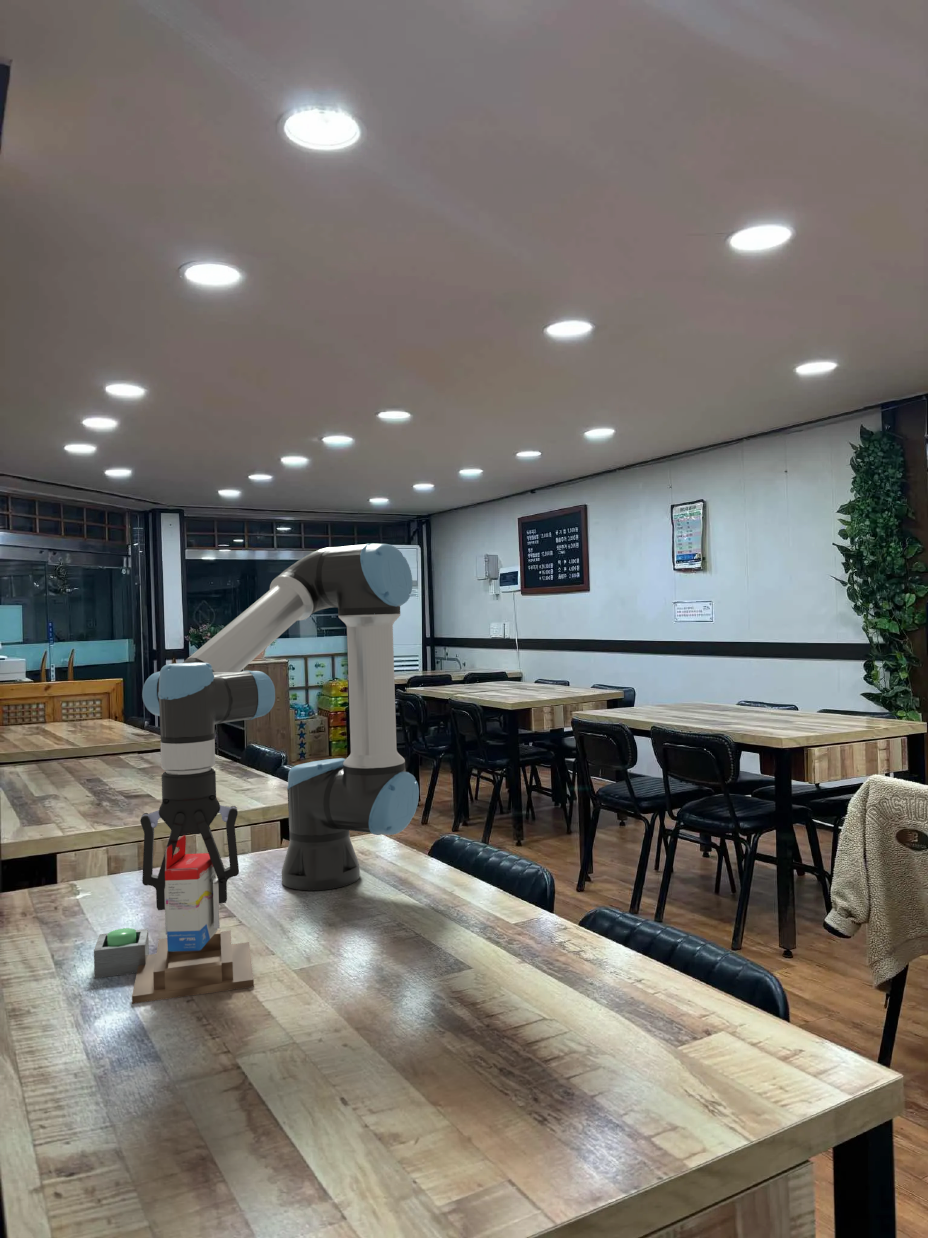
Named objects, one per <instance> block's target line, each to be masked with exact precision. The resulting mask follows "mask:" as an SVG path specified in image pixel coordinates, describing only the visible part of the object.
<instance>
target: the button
mask: <svg viewBox="0 0 928 1238" xmlns="http://www.w3.org/2000/svg"><path fill="white" fill-rule="evenodd" d="M136 930H137V929H135V928H132V927H131V928H130V927H126V928H118V929H115V930H111V931H110V932H108V934H107V933H106V934H107V941H108V947H110V946H118V945H126V944H134V943H136Z"/></svg>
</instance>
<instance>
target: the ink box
mask: <svg viewBox="0 0 928 1238" xmlns="http://www.w3.org/2000/svg"><path fill="white" fill-rule="evenodd" d="M186 842H187V836H186V835H182V836H180V838H178V842H177V845H176V848H175V850H176V849H177V848H178V849H177V851H176V852H174V855H173V858H172V844H171V845H170V846H168V847H167V846H166V847H167V848H166V847H165V850H166V852H165V851H164V854H165V890H166V915H167V934H166V938H167V944H168V952H177V951H200V950H201V949H202V948H203V947H204V946H205V945H206V943H207V942H208V941H209V940H210V939H211V938H212V936H213V935H214V934H215V933H216V932H217V930H219V928H217V929H214V901H213V879H217V875H216V873H215V870H214V867H213V864H212V862H211V859H210V856H209V853H208V852H207V853H205V852H201V853H198V852H197V853H186V845H187V844H186Z"/></svg>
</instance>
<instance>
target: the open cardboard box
mask: <svg viewBox="0 0 928 1238" xmlns="http://www.w3.org/2000/svg"><path fill="white" fill-rule="evenodd" d="M231 932H232V931H231V930H223V931H221V929H220V930H219V929H218V930H217V932H216V933H215V934H214V935H213V936H212V938H211V939H210V940H209V941H208V942H207V943H206V945H205V946H204V947H203V948H202V949H201V950H200V951H177V952H168V944H167V937H166V938H159V939H158V942H157V947H156V953H154V954H153V953H152V954H149V955H147V960H146V965H140V966H138V970H137V973H136V974H135V975H136V976H135V981H134V984H133V988H132V990H133V991H132V993H131V994H132V995H131V1004H132V1005H133V1004H139V1003H140V1004H141V1003H146V1002H155V1001H161V1000H169V999H177V998H182V997H183V998H184V997H190V996H197V995H204V994H205V995H206V994H211V993H218V992H226V991H233V990H234V991H235V990H240V989H247V988H253V987H255V984H254V983H255V982H254V973H253V963H252V955H251V947H250V946H251V945H250V941H249V942H248V941H247V942H240V943H239V942H237V943H232V933H231Z"/></svg>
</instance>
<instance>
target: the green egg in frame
mask: <svg viewBox="0 0 928 1238" xmlns="http://www.w3.org/2000/svg"><path fill="white" fill-rule="evenodd" d="M135 930H136V943H134V944H126V945H118V946H110V947H108V941H107V934H108V933H109V932H108V933H100V934H98V938H97V940H96V941H97V942H96V944H95V946H94V949H93V963H94V964H93V965H94V967H93V968H94V971H93V972H94V979H99V978H100V979H101V978H108V977H115V976H121V975H123V976H124V975H129V974H137V970H138V966H140V965H146V960H147V955H150V949H149V948H150V945H149V941H150V940H149V928H141V929H135Z"/></svg>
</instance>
